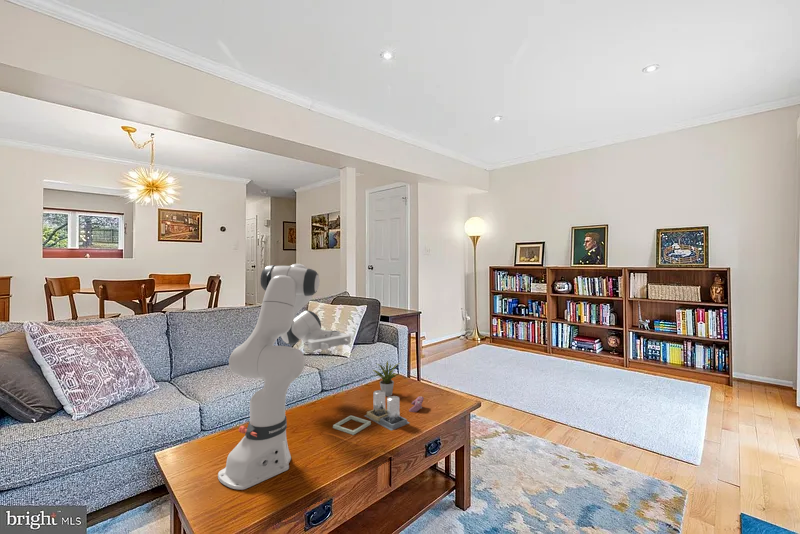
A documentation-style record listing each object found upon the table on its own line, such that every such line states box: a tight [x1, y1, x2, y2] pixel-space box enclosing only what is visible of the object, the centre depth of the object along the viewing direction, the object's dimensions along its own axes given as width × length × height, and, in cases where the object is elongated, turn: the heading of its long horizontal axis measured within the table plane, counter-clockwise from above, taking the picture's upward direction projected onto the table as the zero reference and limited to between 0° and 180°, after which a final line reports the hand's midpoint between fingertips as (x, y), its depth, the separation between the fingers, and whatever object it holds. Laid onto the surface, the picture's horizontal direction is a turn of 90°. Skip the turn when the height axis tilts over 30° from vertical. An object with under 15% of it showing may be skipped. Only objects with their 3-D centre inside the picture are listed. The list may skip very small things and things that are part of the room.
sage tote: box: [332, 415, 372, 436], centre depth 145 cm, size 11×11×2 cm
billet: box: [386, 395, 401, 424], centre depth 147 cm, size 5×5×10 cm
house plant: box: [372, 360, 401, 397], centre depth 183 cm, size 14×14×16 cm
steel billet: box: [372, 389, 386, 417], centre depth 154 cm, size 5×5×10 cm
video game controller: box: [408, 396, 425, 413], centre depth 162 cm, size 10×5×7 cm, turn 170°
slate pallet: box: [364, 408, 411, 432], centre depth 151 cm, size 18×10×3 cm, turn 41°
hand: (338, 344), depth 160 cm, fingers open, 8 cm apart
